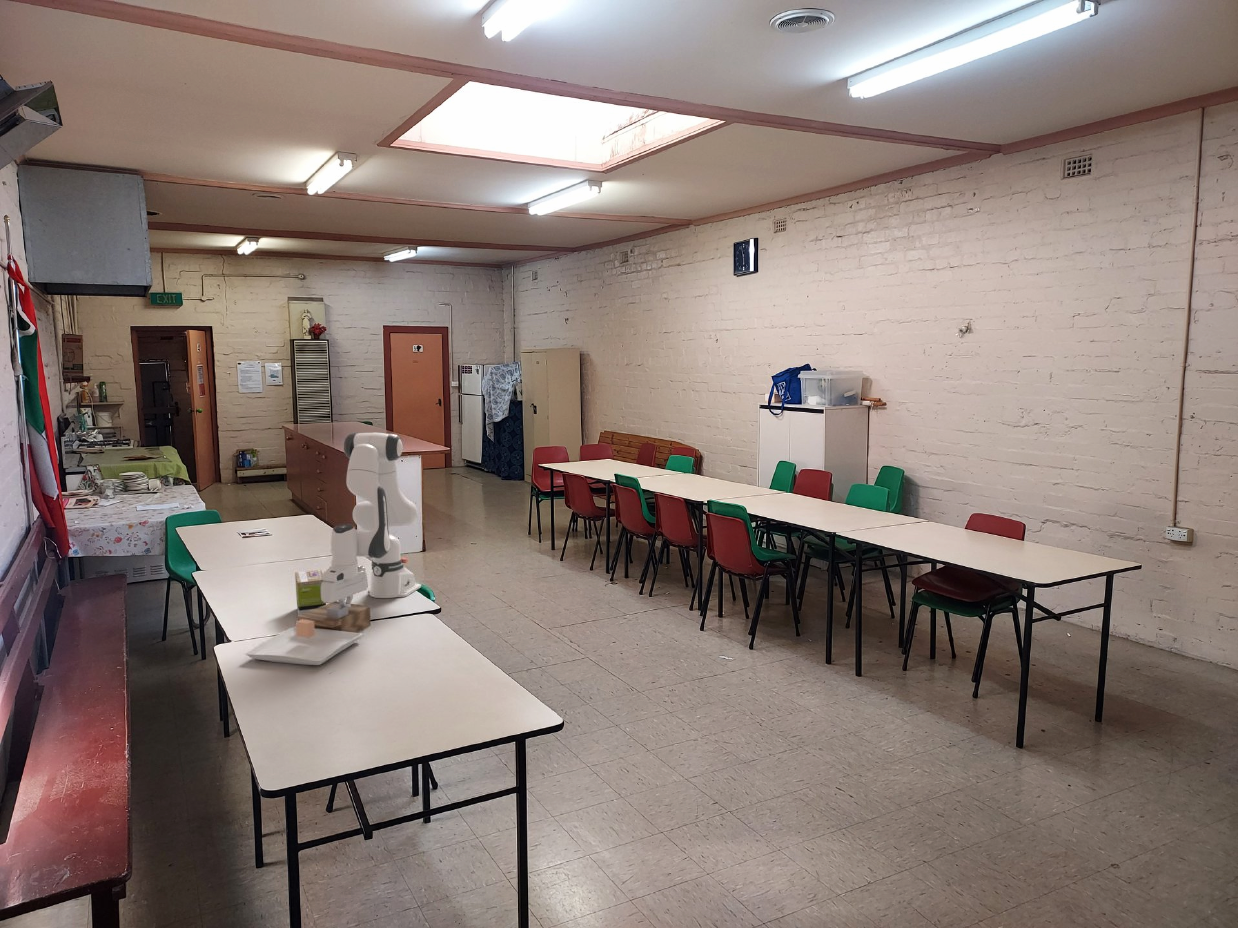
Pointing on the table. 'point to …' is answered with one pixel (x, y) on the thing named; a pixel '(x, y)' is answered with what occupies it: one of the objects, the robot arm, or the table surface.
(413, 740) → the table surface
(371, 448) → the robot arm
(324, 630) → the square plate
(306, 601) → the tea box
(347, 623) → the wooden box
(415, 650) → the table surface
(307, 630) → the tile
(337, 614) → the tile
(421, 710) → the table surface
